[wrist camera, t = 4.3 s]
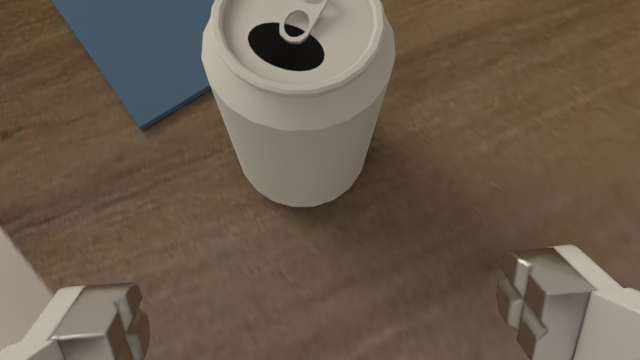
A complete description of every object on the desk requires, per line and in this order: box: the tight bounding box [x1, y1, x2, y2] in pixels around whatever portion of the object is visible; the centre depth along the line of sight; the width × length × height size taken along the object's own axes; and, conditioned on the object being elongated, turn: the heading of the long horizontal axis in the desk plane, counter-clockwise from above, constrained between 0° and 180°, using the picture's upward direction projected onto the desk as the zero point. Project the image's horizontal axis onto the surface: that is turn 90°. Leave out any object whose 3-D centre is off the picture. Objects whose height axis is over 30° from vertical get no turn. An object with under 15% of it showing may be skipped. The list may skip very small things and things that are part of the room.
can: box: [201, 0, 396, 207], centre depth 21 cm, size 8×8×12 cm
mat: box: [52, 0, 215, 131], centre depth 30 cm, size 14×12×1 cm
